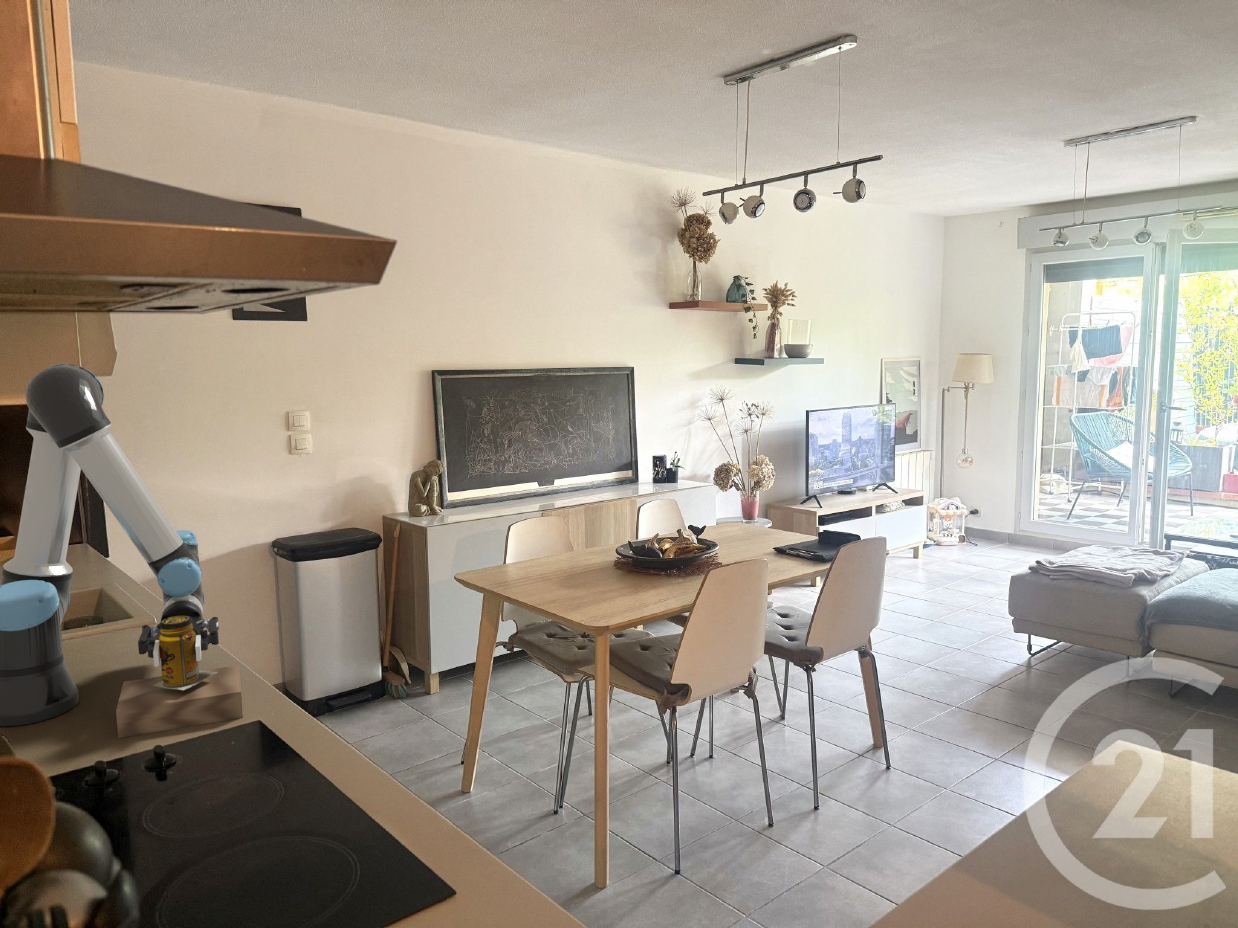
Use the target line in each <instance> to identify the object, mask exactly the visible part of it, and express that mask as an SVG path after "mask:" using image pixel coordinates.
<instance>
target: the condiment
mask: <svg viewBox="0 0 1238 928" xmlns="http://www.w3.org/2000/svg"><path fill="white" fill-rule="evenodd" d="M159 623H160V626H161V631H160V632H161V635H160V637H159V644H160V655H161V658H160V667H161V676H162V678H163V681H161V682H159V683H157V684H154V685H152V686H157V687H162V688H169V689H178V690H185V689H187V688H189V687H192V686H193V685H196V684H197V683H199V682H201V681H203V680H204V679H207V678H208V677H211V676H212V675H214V674H216V673H218V672H206V671H202V670H199V661H196V648H195V645H196V633H195V631H194V630H193V625H192V619H191V618H190V617H188V616H175V617H169V618H166V619H164V620H163V621H161V620H160V622H159Z"/></svg>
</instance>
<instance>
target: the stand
mask: <svg viewBox="0 0 1238 928" xmlns="http://www.w3.org/2000/svg"><path fill="white" fill-rule="evenodd" d="M201 671H206V672H218V673H216V674H214V675H212V676H211V677H208V678H207V679H204V680H203V681H201V682H199V683H197V684H196V685H193V686H192V687H189V688H187V689H185V690H178V689H169V688H162V687H157V686H152V685H154V684H157V683H159V682H161V681H163V678H162V675H161V676H156V677H155V676H154V677H149V678H148V677H147V678H146V677H145V678H141V679H133V680H126V681H123V683H122V687H121V691H120V694H119V698H118V702H117V705H116V710H115V716H116V725H117V726H116V728H117V737H118V739H121V738H125V737H126V738H127V737H133V736H139V735H145V734H150V733H157V732H163V731H171V730H176V729H182V728H188V727H194V726H199V725H200V726H201V725H206V724H211V723H212V722H213V723H217V722H223V720H225V721H229V720H235V719H242V718H241V717H243V718H244V715H243V703H242V698H243V697H242V685H241V672H240V664H239V665H231V666H223V667H218V668H217V667H216V668H210V669H205V670H204V669H203V670H201ZM205 723H206V724H205Z"/></svg>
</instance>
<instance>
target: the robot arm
mask: <svg viewBox="0 0 1238 928" xmlns="http://www.w3.org/2000/svg"><path fill="white" fill-rule="evenodd" d="M25 392H26V393H25V402H26V405H27V408H28V412H27V413H28V414H27V419H26V425H25V428H26V431H28V433H29V434H30V435H31V436H32V437H33V441H32V448H31V454H30V459H29V465H28V466H29V467H28V473H27V477H26V478H27V479H26V482H25V483H26V484H25V488H24V489H25V490H24V495H23V502H22V508H21V515H20V522H19V526H18V533H17V538H16V539H17V540H16V544H15V552H14V557H12V558H11V559H9V560H8V561H7V562H6V563H4V564H3V567H2V572H1V578H0V727H15V726H16V727H17V726H23V725H29V724H35V723H38V722H43V721H46V720H49V719H53V718H55V717H58V716H60V715H62V714H64V713H66V712H68V711H70V710H72V709H73V708H75V707H76V706H77V705H78V703H79V700H80V699H79V698H80V697H79V689H78V687H77V684H76V682H75V680H74V679H73V677H72V675H71V673H70V671H69V670H68V666H67V665H66V664H65V658H64V657H65V656H64V646H63V638H62V637H63V636H62V635H63V634H62V623H63V620H64V617H65V614H66V612H67V610H68V608H69V606H70V603H71V602H70V601H71V594H70V591H71V590H70V589H71V584H72V576H73V570H74V569H73V567H72V566H71V564H69V562H67V560H66V559H67V554H68V548H69V541H70V536H71V530H72V523H73V520H74V519H73V518H74V513H75V512H74V511H75V508H76V507H75V506H76V501H77V494H78V489H79V483H80V476H81V471H82V473H83V474H84V475H85V476H86V478H87V479H88V480H89V482H90V483H91V485H92V487H93V488H94V489H95V491H96V492H97V493H98V495H99V497H100V498H101V499H102V501H103V502H104V504H105V505H106V506H107V508H108V510H109V511H110V512H111V514H112V515H113V517H115V519H116V521H117V522H118V524H119V525H120V526H121V528H122V529H123V530H124V532H125V534H126V535H127V536H128V537H129V539H130V540H131V542H132V543H133V545H134V547H136V550H138V553H140V555H141V556H142V558H143V559H144V561H145V562H146V564H147V565H148V567H149V569H150V570H151V571H152V573H153V574H154V575H155V577H156V581H157V583H158V586H159V587H160V589H161V592H162V599H163V607H162V612H161V617H160V622H161V621H163V620H164V619H166V618H169V617H175V616H188V617H190V618H191V619H192V625H193V630H194V631H195V633H196V645H195V648H196V661H198V662H199V661H201V660H202V651H207V650H209V645H210V644H211V645H212V646H213V645H214V646H216V645H219V644H220V643H219V642H220V641H219V630H220V627H219V617H217V616H212V617H211V618H210V619H207V621H206V620H205V619H204V618H203V613H204V612H203V611H204V605H205V596H204V592H203V586H202V577H203V572H202V568H201V563H200V558H199V557H200V556H199V548H198V547H199V544H198V542H197V535H196V532H194V531H193V530H187V529H185V530H183V529H181V530H176V528H175V527H174V525H173V524H172V522H171V521H170V520H169V518H168V517H167V515H166V514H165V512H164V510H163V509H162V507H161V506H160V505H159V503H158V502H157V500H156V498H154V496H153V494H152V493H151V491H150V490H149V488H148V487H147V485H146V484H145V482H144V481H143V479H142V478H141V476H140V475H139V473H138V472H137V470H136V469H135V467H134V466H133V464H132V463H131V461H130V460H129V459H128V456H127V455H126V454H125V452H124V451H123V449H122V448H121V446H120V445H119V443H118V442H117V440H116V439H115V437H114V436H113V434H112V433H111V430H112V425H113V423H111V421H110V420H109V418H108V416H107V415H106V412H105V411H104V409H103V404H104V397H105V394H104V388H103V386H102V382H101V381H100V379H99V378H98V377H97V376H96V375H95V374H94V373H93V372H92V371H90V370H89V369H87V368H85V367H84V366H79V365H75V364H69V363H68V364H67V363H60V364H55V365H52V366H49V367H47V368H45V369H42V370H41V371H39V372H38V373H36V374H35V375H34V376H33V377H32V378H31V380H30V381H29V383H28V385H27V388H26V391H25ZM160 622H159V623H158V624H157V625H156V627H153V626H151V625H148V624H144V625H142V626H141V634H140V636H139V638H138V640H137V643H138V645H137V647H138V654H139V655H145V654H147V657H148V658H150V659H153V667H154V668H155V667H160V665H161V655H160V644H159V637H160V635H161V632H160V631H161V626H160ZM208 632H209V634H208Z"/></svg>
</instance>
